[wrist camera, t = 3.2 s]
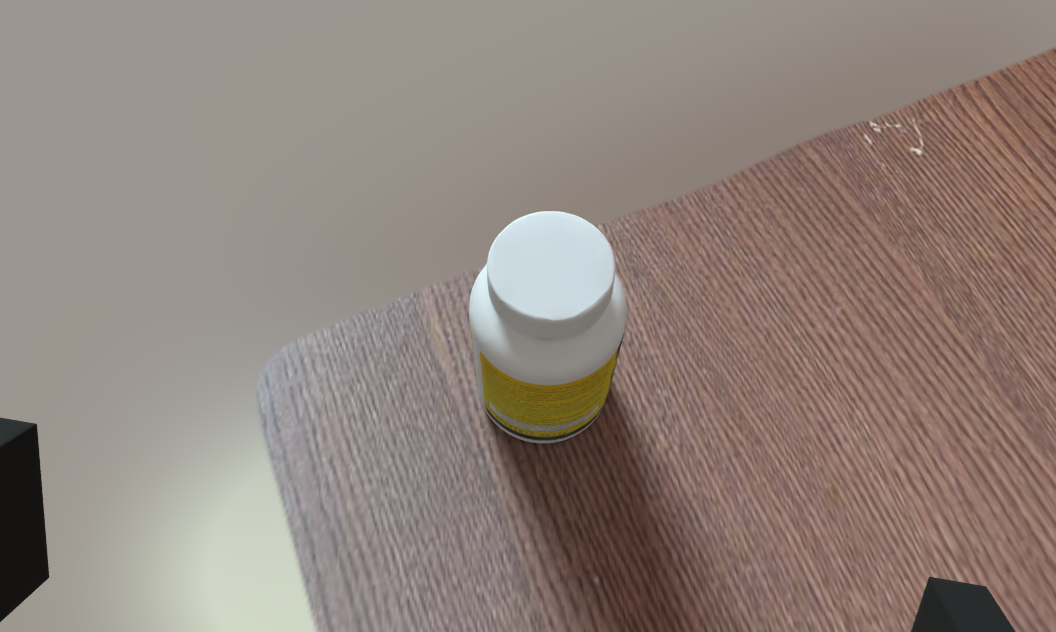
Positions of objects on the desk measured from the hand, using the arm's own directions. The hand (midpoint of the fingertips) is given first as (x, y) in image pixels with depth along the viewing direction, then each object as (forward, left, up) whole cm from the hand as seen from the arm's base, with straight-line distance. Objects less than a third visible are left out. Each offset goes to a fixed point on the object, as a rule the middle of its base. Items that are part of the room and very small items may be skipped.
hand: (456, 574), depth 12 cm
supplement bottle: (0, +11, -19) cm, 22 cm away
